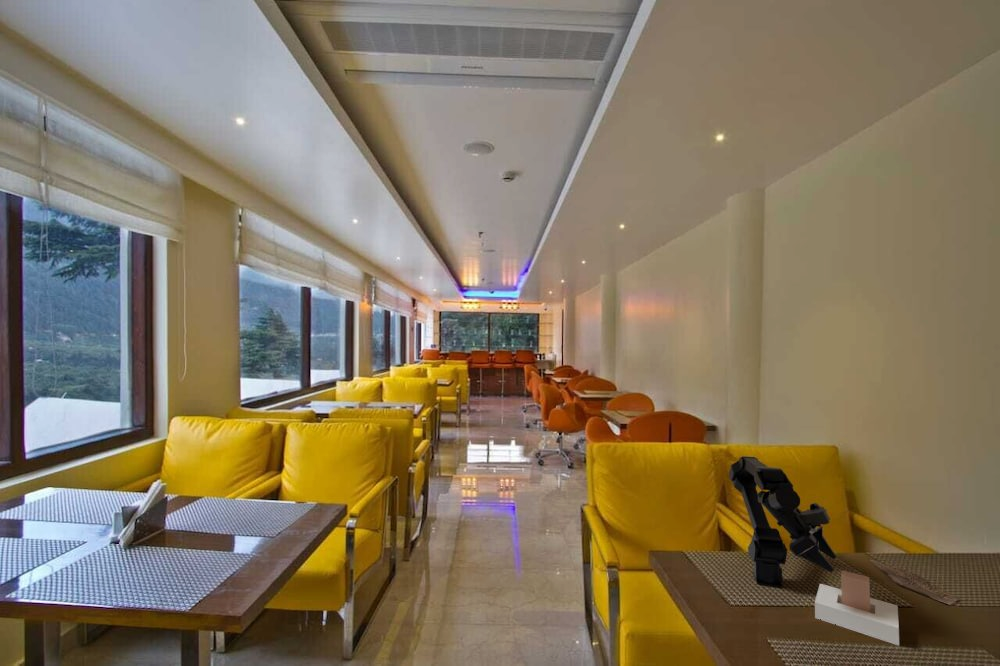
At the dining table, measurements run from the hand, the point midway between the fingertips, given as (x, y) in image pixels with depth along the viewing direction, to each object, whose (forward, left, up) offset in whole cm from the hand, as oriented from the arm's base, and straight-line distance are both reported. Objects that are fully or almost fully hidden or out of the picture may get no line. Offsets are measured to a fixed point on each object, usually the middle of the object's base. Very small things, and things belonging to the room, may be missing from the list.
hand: (833, 564), depth 115 cm
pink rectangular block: (+4, -2, -11) cm, 12 cm away
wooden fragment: (+27, +26, -13) cm, 40 cm away
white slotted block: (+4, -2, -12) cm, 13 cm away
